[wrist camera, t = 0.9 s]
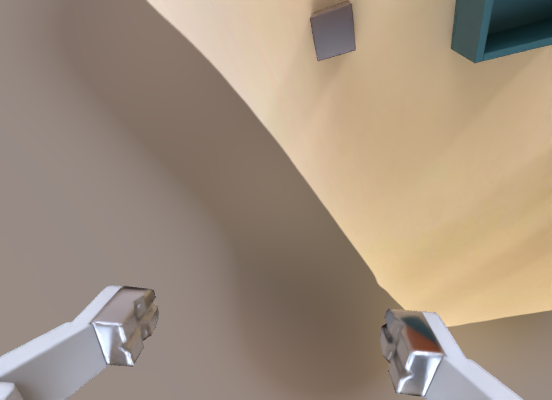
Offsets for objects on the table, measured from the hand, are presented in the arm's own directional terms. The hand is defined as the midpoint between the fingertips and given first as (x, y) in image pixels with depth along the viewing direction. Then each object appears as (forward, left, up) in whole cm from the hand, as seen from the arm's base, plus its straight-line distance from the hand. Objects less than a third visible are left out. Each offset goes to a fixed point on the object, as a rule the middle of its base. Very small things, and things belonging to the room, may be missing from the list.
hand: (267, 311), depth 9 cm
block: (-2, +3, -40) cm, 40 cm away
